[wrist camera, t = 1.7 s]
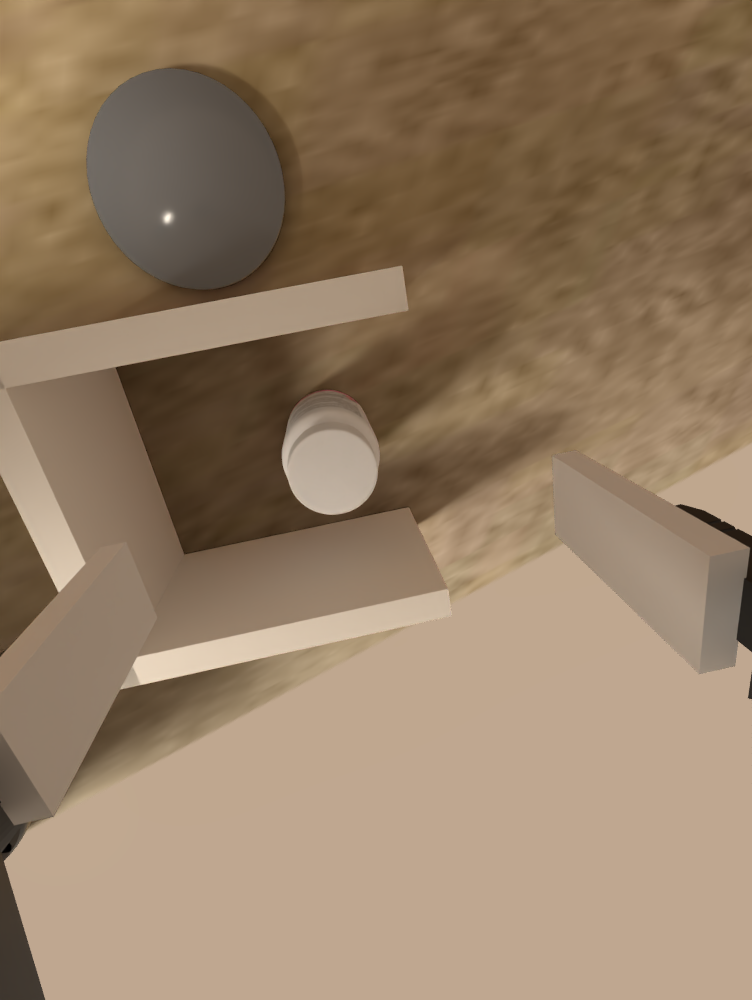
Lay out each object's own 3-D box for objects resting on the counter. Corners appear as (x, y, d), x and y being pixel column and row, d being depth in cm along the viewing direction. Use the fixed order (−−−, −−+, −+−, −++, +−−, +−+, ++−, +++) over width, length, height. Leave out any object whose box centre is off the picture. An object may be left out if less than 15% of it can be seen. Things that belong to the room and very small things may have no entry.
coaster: (133, 304, 26) (128, 304, 25) (62, 93, 22) (53, 86, 22) (303, 272, 26) (303, 271, 25) (258, 61, 23) (256, 52, 22)
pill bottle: (270, 422, 29) (254, 464, 21) (334, 371, 28) (343, 395, 20) (321, 482, 30) (324, 542, 23) (383, 436, 30) (408, 480, 22)
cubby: (168, 579, 32) (107, 692, 22) (73, 337, 26) (-60, 352, 17) (412, 527, 32) (451, 615, 23) (371, 280, 27) (402, 265, 17)
